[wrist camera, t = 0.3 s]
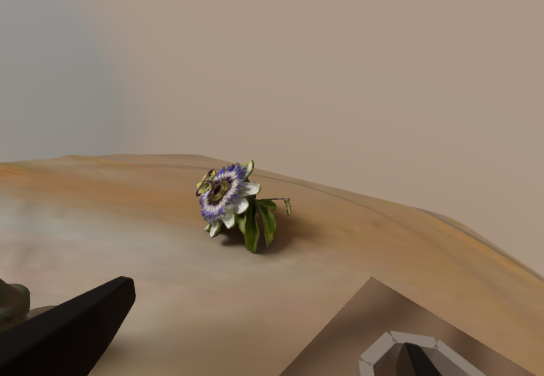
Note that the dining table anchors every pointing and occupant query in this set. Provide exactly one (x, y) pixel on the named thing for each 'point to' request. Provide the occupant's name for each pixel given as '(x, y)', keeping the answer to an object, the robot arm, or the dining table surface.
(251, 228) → the passion flower
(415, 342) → the socket ring
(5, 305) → the candlestick holder
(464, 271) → the dining table surface
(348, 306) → the board with raised edge
